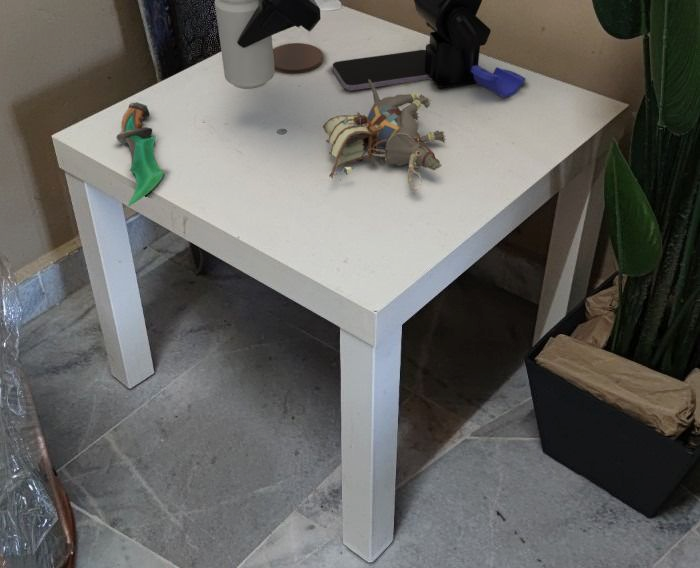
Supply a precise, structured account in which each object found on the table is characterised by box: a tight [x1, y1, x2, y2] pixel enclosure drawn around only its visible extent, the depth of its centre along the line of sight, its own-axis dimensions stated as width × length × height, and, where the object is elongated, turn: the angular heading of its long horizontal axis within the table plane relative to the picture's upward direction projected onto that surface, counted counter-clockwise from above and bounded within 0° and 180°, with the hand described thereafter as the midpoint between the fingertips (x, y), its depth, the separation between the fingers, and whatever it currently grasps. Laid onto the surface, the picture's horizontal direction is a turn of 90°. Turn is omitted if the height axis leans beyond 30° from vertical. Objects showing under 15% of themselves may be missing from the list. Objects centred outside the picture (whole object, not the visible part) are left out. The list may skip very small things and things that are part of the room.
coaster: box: [273, 42, 324, 74], centre depth 132 cm, size 8×8×1 cm
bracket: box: [471, 64, 526, 99], centre depth 124 cm, size 9×5×3 cm, turn 129°
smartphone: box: [331, 49, 431, 91], centre depth 129 cm, size 7×1×15 cm
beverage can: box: [214, 0, 276, 90], centre depth 113 cm, size 6×6×12 cm
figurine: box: [322, 79, 447, 194], centre depth 112 cm, size 20×6×17 cm
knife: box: [116, 102, 165, 208], centre depth 113 cm, size 21×2×5 cm
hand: (234, 33), depth 112 cm, fingers closed on beverage can, 6 cm apart
